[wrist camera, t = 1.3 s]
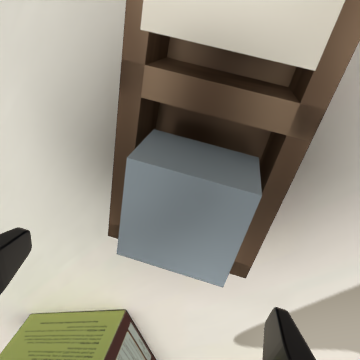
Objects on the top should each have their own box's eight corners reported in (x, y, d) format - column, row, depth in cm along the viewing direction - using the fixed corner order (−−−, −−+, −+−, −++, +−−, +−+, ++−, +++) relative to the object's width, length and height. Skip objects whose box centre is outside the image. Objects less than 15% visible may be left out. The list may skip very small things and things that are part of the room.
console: (408, -153, 12) (502, -258, 7) (246, 231, 23) (245, 278, 19) (183, -188, 13) (149, -302, 8) (133, 198, 24) (108, 235, 19)
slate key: (258, 157, 15) (262, 195, 11) (227, 238, 18) (222, 287, 14) (153, 129, 15) (126, 157, 12) (141, 212, 18) (116, 253, 15)
